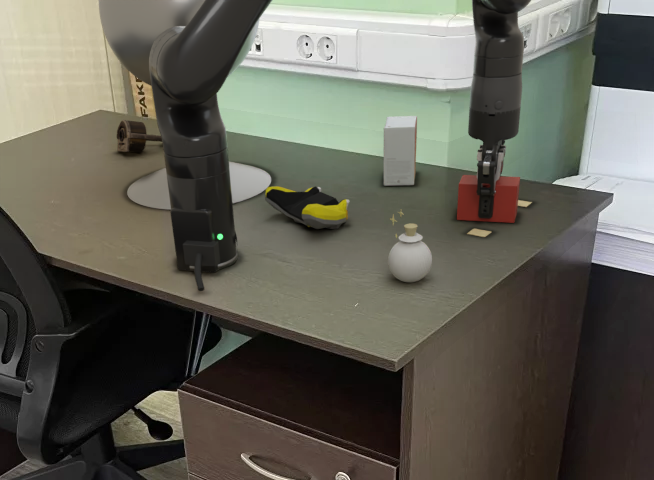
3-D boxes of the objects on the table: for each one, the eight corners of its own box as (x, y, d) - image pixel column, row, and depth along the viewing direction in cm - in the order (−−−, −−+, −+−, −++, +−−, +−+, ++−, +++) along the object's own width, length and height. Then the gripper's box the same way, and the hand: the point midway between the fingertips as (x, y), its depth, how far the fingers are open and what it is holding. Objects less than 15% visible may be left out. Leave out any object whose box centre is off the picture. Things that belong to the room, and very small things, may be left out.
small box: (414, 186, 155) (415, 126, 149) (382, 186, 156) (383, 127, 151) (416, 172, 162) (417, 115, 156) (386, 172, 163) (386, 115, 157)
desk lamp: (223, 154, 181) (200, -92, 157) (300, 184, 161) (287, -93, 137) (103, 185, 169) (59, -77, 145) (170, 221, 149) (132, -76, 125)
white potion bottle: (408, 293, 118) (409, 223, 113) (372, 276, 123) (372, 209, 118) (440, 280, 121) (443, 212, 115) (404, 265, 126) (405, 198, 121)
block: (514, 223, 137) (517, 186, 133) (456, 220, 140) (458, 183, 136) (517, 213, 140) (520, 176, 137) (460, 210, 143) (462, 174, 140)
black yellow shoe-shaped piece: (310, 243, 136) (361, 227, 140) (308, 209, 133) (361, 194, 137) (261, 217, 147) (309, 204, 151) (258, 186, 144) (308, 173, 148)
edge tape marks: (484, 237, 133) (484, 236, 133) (466, 233, 134) (466, 233, 134) (532, 202, 144) (532, 202, 144) (515, 200, 145) (515, 199, 145)
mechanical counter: (112, 122, 189) (108, 123, 180) (169, 110, 189) (168, 110, 180) (120, 155, 191) (116, 158, 182) (176, 144, 192) (175, 146, 182)
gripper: (476, 92, 137) (470, 196, 146) (462, 115, 126) (456, 226, 135) (525, 92, 135) (515, 198, 144) (516, 116, 124) (506, 229, 133)
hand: (487, 211), depth 139 cm, fingers closed on block, 4 cm apart
